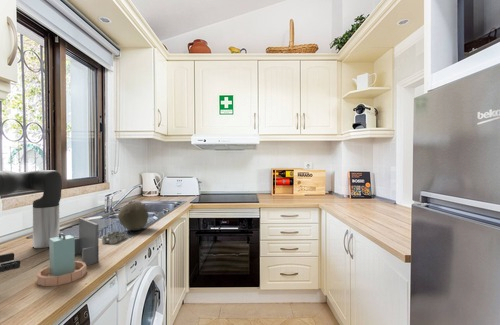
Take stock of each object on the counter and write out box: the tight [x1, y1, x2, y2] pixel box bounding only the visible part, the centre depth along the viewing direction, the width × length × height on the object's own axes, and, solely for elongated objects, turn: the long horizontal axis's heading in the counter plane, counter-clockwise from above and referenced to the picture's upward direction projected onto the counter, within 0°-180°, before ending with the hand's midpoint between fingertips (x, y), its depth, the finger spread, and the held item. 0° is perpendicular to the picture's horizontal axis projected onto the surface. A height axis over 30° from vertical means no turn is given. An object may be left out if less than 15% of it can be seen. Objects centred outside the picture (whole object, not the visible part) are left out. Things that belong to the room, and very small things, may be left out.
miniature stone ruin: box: [100, 229, 128, 245], centre depth 121 cm, size 11×8×4 cm
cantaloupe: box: [117, 202, 149, 231], centre depth 138 cm, size 14×14×15 cm
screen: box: [75, 217, 100, 267], centre depth 98 cm, size 5×17×14 cm, turn 51°
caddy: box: [49, 231, 76, 277], centre depth 83 cm, size 6×5×14 cm
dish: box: [36, 260, 87, 287], centre depth 83 cm, size 13×13×2 cm
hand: (16, 259), depth 74 cm, fingers open, 8 cm apart
